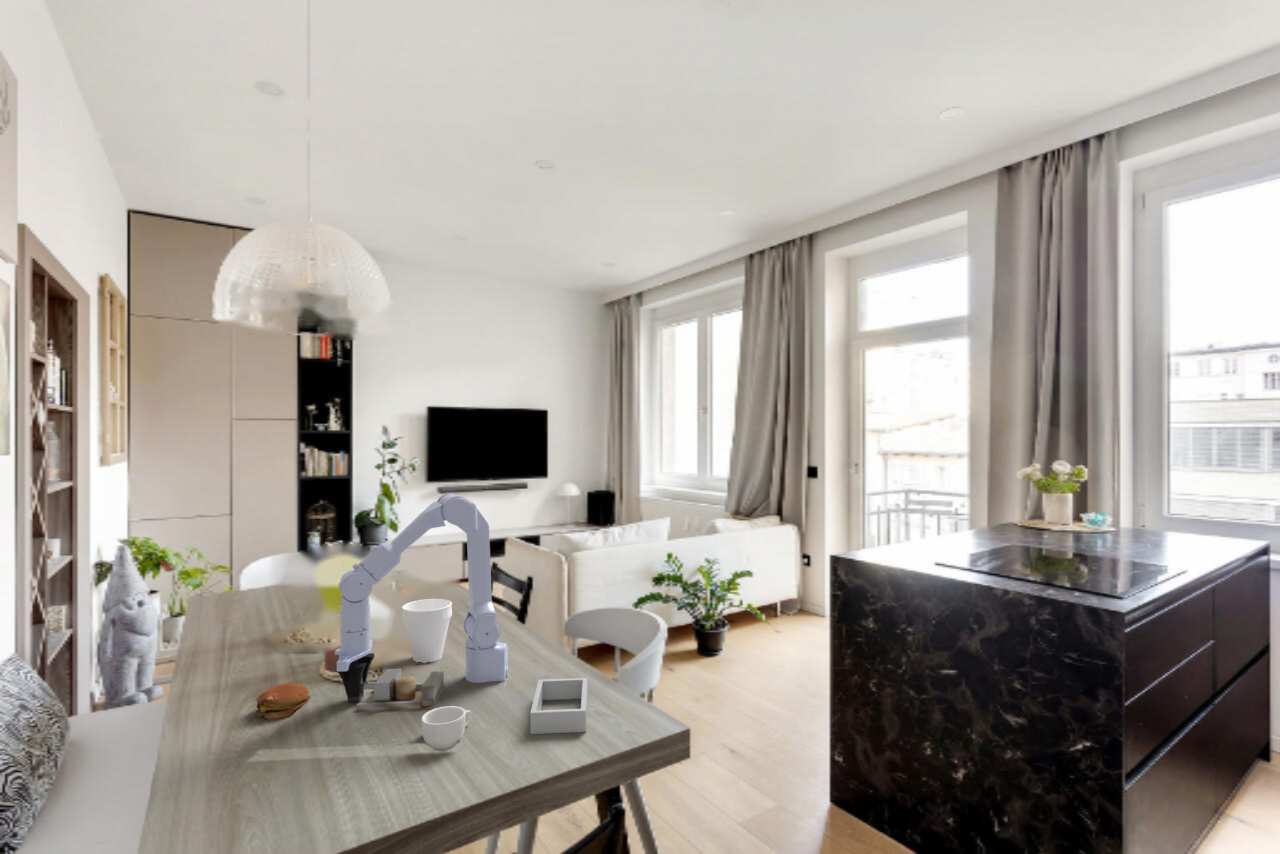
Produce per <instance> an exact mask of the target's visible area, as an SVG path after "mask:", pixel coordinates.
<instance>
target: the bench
mask: <svg viewBox="0 0 1280 854" xmlns="http://www.w3.org/2000/svg"><path fill="white" fill-rule="evenodd" d="M444 680H445V678H444V671H442V670H441V671H431V672H430V674H429V675H428V676H427V678H426V679H425V681H424V682H415V696H416V697H415V699H414V700H412V701H399V702H396V701H395V699H394V700H393V702H374V691H373V692H372V693H370V695H369V696H368V697H367V699H366V700H365V701H364V702H358V703H357V704H356V711H355V713H357V714H358V713H380V712H383V713H385V712H403V711H405V712H406V711H430V710H433V709H434V707H435V705H436V704H437V702H438V700H439V699H440V697H441V695H442V693H443V692H444V690H445V689H446V687H447V686H446V685H444Z"/></svg>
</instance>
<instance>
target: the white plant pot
mask: <svg viewBox="0 0 1280 854" xmlns="http://www.w3.org/2000/svg"><path fill="white" fill-rule="evenodd" d="M452 606H453V602H452V601H451V600H450V599H449V600H448V599H445V598H426V599H418V600H414V601H410V602H408V603H404V605H402V606H401V610H402V611H401V612H402V613H401V621H403V623H404V628H405V632H406V636H407V639H408V645H409V647H410V652H411V655H412V656H411V657H412V659H413V662H414V661H416V662H415V663H417V662H422V663H421V664H428V663H427V662H430V663H433V662H434V663H435V662H437V661H439V660H441V658H442V657H443V653H444V648H445V645H446V639H447V634H448V631H449V630H448V629H449V625H450V621H451V617H452V616H453V608H452Z"/></svg>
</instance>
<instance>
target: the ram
mask: <svg viewBox="0 0 1280 854" xmlns="http://www.w3.org/2000/svg"><path fill="white" fill-rule="evenodd" d="M400 677H402V668H387V669H386V670H385V671H384V672H383V673H382V674H381V675H380V677H379V678H378V679H377V680H376V681H366V682H364V673H363V674H362V679H361V686H360V693H359V696H358V697H347V702H360V701H361V700H363V698H364V697H365V695H364V694H365V691H364V690H373V692H374V702H393V700H394V699H395V680H396V679H397V678H400Z"/></svg>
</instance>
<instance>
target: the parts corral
mask: <svg viewBox="0 0 1280 854" xmlns="http://www.w3.org/2000/svg"><path fill="white" fill-rule="evenodd" d="M588 680H589V679H588V677H579V678H578V677H577V678H553V679H552V678H551V679H544V678H543V679H538V680H537V684H536V685H537V686H536V689H535V692H534V697H533V701H532V705H531V709H530V712H529V713H530V715H529V717H530V735H539V734H541V735H542V734H561V733H563V734H564V733H565V734H566V733H584V732H585V733H587V722H588V721H587V720H588V719H587V718H588V699H589V697H588V696H589V695H588V694H589V693H588V692H589V691H588V688H589V686H588V684H589V683H588ZM553 700H554V701H556V700H580V701H581V702H580V708H568V709H567V708H565V709H543V710H542V706H543V702H544V701H553Z"/></svg>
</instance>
